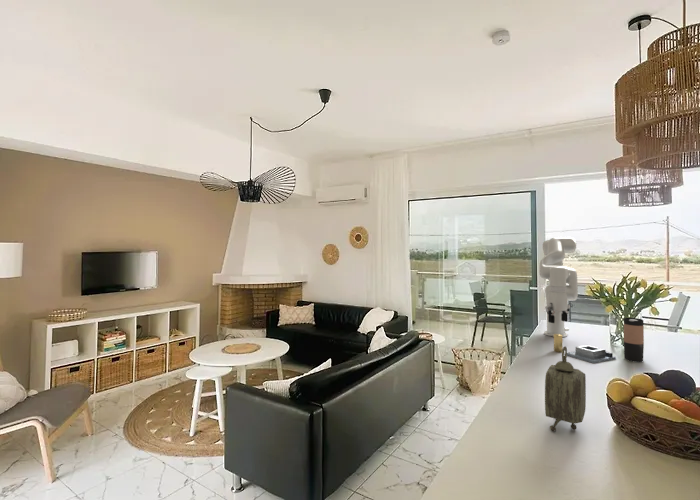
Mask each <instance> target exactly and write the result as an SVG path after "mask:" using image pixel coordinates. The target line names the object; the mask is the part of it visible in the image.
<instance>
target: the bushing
mask: <svg viewBox="0 0 700 500" xmlns="http://www.w3.org/2000/svg"><path fill="white" fill-rule="evenodd" d="M563 340H564V338H563V337H562V334H554V337H553V352H555V353H561V354H562V349H563V347H564V346H563V345H564V344H563Z"/></svg>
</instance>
